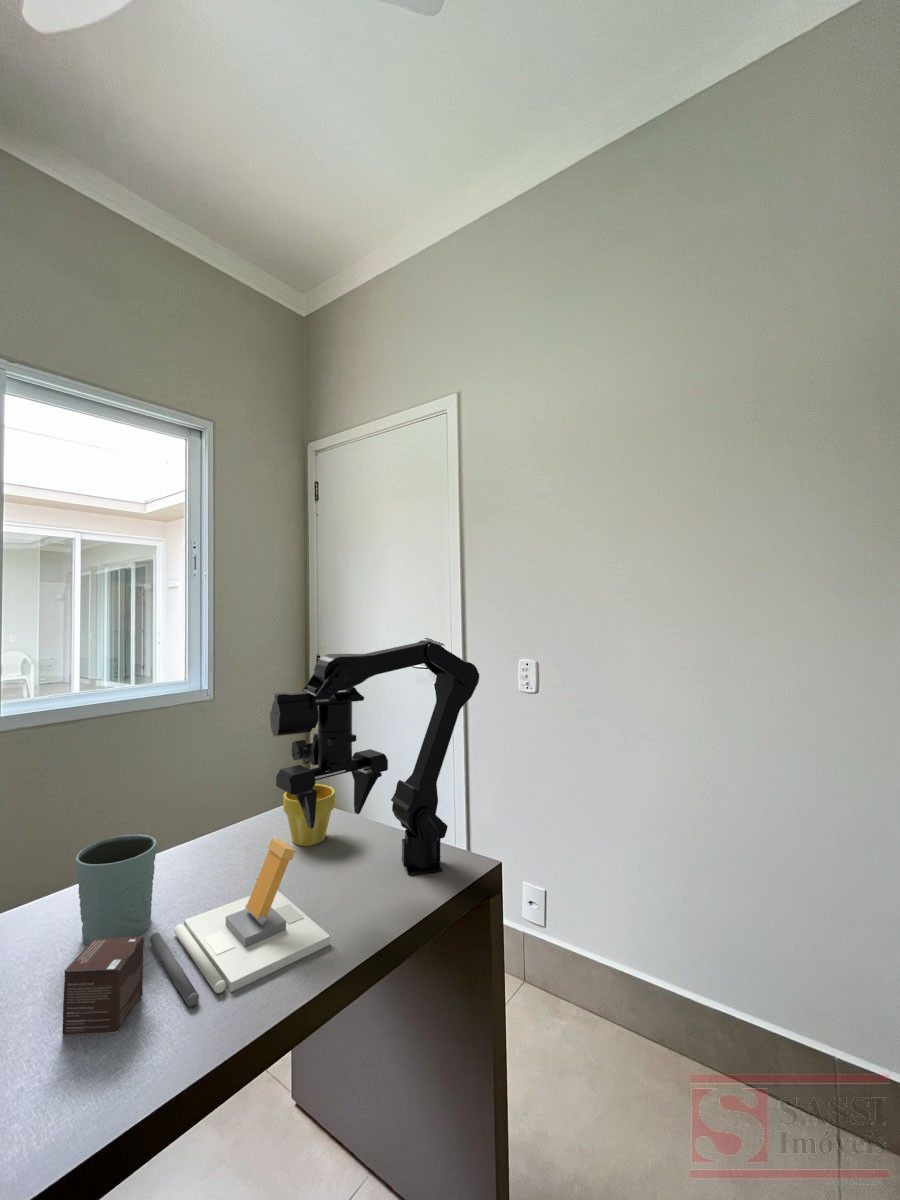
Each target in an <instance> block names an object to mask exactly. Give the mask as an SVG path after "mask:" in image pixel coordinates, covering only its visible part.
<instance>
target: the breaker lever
mask: <svg viewBox="0 0 900 1200" xmlns="http://www.w3.org/2000/svg"><path fill="white" fill-rule="evenodd" d="M267 849H269V850H268V852H267V854H266V857H265V860H264V862H263V864H262V867H261V869H260V871H259V874H258V876H257V879H256V881H255V884H254V886H253V889H252V892H251V894H250V895H249V896H250V899H249V901H248V903H247V904H246V906H245V908H246V910H247V911H248V912H249V913H250V914H251V915H252V916H253V917H254V918H255V919H256V920H257V921H258V922H259V923H260V924H261V925H264V924H265V923H266V921H267V916H268V913H269V911H270V908H271V905H272V903H273V900H274V898H275V895H276V893H277V890H278V891H279V887H280V884H282V883H281V882H282V879H283V877H284V875H285V872H286V871H287V867H288V864H289V862H290V861H292V860H293V857H294V855H295V852H296V849H294V848H293V847H291V846H290V845H289V844H287V843H286V842H285V841H283V840H280V839H277V838H276V839H275V838H271V839H270V841H269V844H268V846H267Z"/></svg>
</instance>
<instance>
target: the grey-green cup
mask: <svg viewBox="0 0 900 1200" xmlns="http://www.w3.org/2000/svg"><path fill="white" fill-rule="evenodd" d="M157 844H158V843H157V839H156V838H155V837H153V836H151V835H147V834H140V833H139V834H125V835H118V836H114V837H110V838H107V839H104V840H100V841H98V842H95V843H92V844H90V845H88V846H87V847H85V848H83V849H81V851H79V852H78V853H77V855H76V857H75V866H76V876H77V884H78V894H79V895H78V898H79V907H80V908H79V909H80V911H79V913H80V920H81V923H82V927H81V936H82V940H83V943H84V944H86V945H87V946H88V945H89V944H90V943H91V942H92V941H93V939H98V938H124V937H139V935H140V934H143V932H145V931H146V930H147V929H148V927H149V926H150V922H151V919H152V905H153V903H152V901H153V888H154V887H153V885H154V883H153V882H154V881H153V880H154V877H155V876H154V875H155V861H156V855H157Z"/></svg>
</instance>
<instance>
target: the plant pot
mask: <svg viewBox="0 0 900 1200" xmlns="http://www.w3.org/2000/svg"><path fill="white" fill-rule="evenodd" d="M312 789H314V790H316V791H317V800H316V814H315V823H314V828H313V829H310V828H309V827H308V825H307V822H306V819H305V817H304V814H303V811H302V808H301V806H300V803H299V801H298V799H297V798H296V796H295V795H293V794H289V793H288V792H286V791H284V793H283V798H282V800H283V802H282V803H283V804H282V805H283V807H282V809H283V812H284V814H286V816H287V822H288V826H289V831H290V837H291V840H292V841H291V842H292V843H293V844H295V845H297V846H301V847H310V846H314V845H318V844H320V843H322V842H323V841H324V840H325V838H326V834H327V830H328V825H329V821H330V818H331V813H332V811H333V810H334V808H335V806H336V803H335V802H336V789H334V788H333V787H332V786H329V785H325V784H321V783H320V784H318V783H315V785H314V787H313V788H312Z"/></svg>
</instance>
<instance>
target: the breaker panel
mask: <svg viewBox="0 0 900 1200" xmlns="http://www.w3.org/2000/svg"><path fill="white" fill-rule="evenodd" d="M250 896H251V895H248V896H246V897H244V898H240V899H237V900H234V901H232V902H229V903H227V904H223V905H221V906H218V907H216V908H213V909H211V910H208V911H205V912H202V913H200V914H197V915H194V916H191V917H188V918H186V919H184V920H183V921H184V924H183V925H184V926H185V927H186V929H187V930H188V931H189V933H190V934H191V936H192V937H193V938H194V940H195V941H196V942H197V944H198V945H199V947H200V948H201V949H202V951H203V952H204V953H205V955H206V956H207V957H208V959H209V960H210V962H211V963H212V964H213V966H214V967H215V968H216V970H217V971H218V972H219V974H220V975H221V977H222V978H223V979H224V981H225V982H226V988H227V989H228V990H229V992H230V993H232V992H233V993H234V991H237V990H239V989H241V988H242V987H245V986H247V985H249V984H251V983H254V982H255V981H258V980H260V979H261V978H263V977H266V976H267V975H270V974H272V973H274V972H275V971H278V970H280V969H283V968H284V967H287V966H288V965H290V964H293V963H295V962H296V961H298V960H301V959H303V958H305V957H308V956H309V955H312V954H313V953H316V952H317V951H320V950H322V949H324V948H326V947H328V946H330V945H331V936H330V935H329V933H327V932H326V931H325V930H324V929H323V928H322V927H320V926H319V925H318V924H317V923H316V922H315V921H313V919H311V918H310V917H309V916H308V915H306V914H305V913H304V912H303V911H302V910H301V909H300V908H299V907H297V906H296V905H295V904H294V903H293V902H291V901H290V900H289V899H288V898H287V897H286V896H285V895H284V894H282V893H281V892H280V891H279V889H278V890H277V893H276V895H275V898H274V900H273V903H272V905H271V908H270V911H269V913H268V916H267V921H266V923H265V924H264V925H261V924H260V923H259V922H258V921H257V920H256V919H255V918H254V917H253V916H252V915H251V914H250V913H249V912H248V911H247V910H246V908H245V906H246V904H247V903H248V901H249V899H250Z"/></svg>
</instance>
